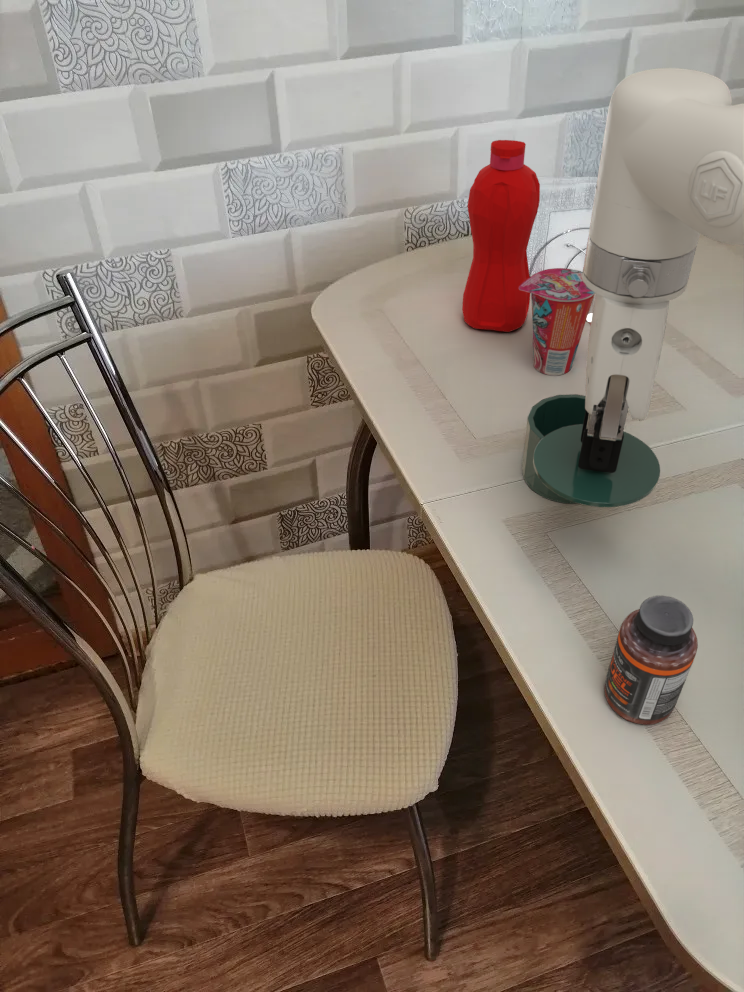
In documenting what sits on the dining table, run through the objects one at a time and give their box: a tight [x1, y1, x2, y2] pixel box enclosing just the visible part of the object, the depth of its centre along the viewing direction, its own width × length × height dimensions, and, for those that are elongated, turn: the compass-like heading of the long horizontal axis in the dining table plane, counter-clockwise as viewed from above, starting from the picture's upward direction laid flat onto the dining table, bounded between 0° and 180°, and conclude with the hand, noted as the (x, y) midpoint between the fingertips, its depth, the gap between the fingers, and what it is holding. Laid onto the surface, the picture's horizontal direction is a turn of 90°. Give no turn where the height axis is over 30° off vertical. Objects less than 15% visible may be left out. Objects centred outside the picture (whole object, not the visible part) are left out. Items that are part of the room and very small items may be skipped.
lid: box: [533, 413, 661, 508], centre depth 69 cm, size 11×11×7 cm
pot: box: [521, 393, 586, 504], centre depth 88 cm, size 10×10×8 cm
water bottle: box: [461, 139, 541, 333], centre depth 109 cm, size 9×11×25 cm
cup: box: [519, 267, 596, 376], centre depth 103 cm, size 9×8×12 cm
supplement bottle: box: [603, 594, 699, 726], centre depth 65 cm, size 6×6×11 cm
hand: (597, 454), depth 70 cm, fingers closed on lid, 2 cm apart
